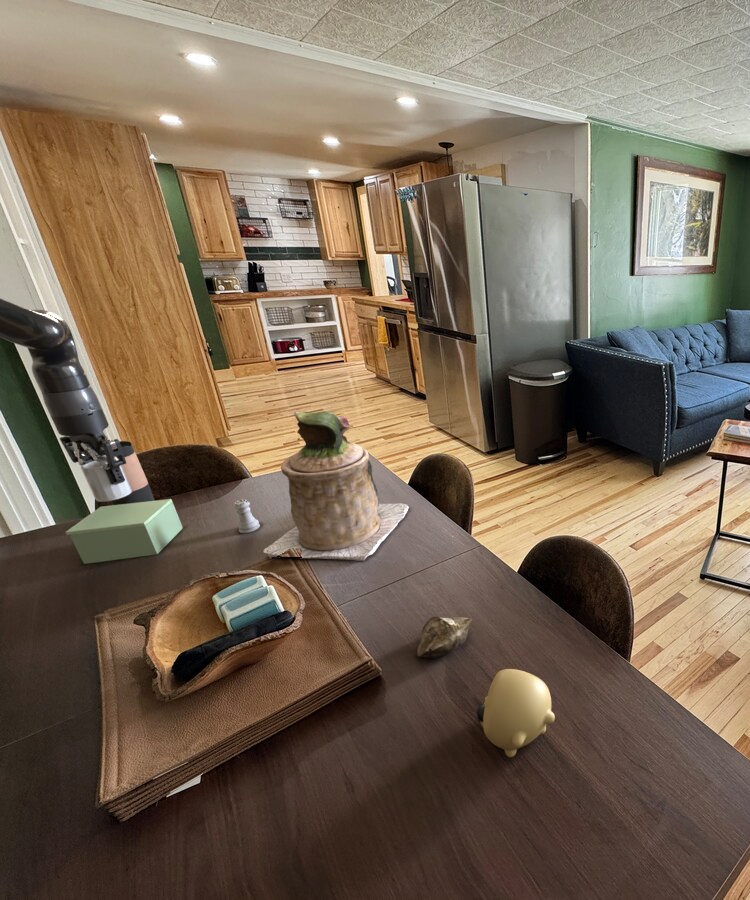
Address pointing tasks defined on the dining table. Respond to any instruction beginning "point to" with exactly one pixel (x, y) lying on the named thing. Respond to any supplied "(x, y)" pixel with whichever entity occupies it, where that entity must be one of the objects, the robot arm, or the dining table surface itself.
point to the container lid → (119, 517)
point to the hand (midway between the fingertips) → (107, 481)
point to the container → (129, 539)
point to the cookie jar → (333, 495)
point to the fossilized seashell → (442, 636)
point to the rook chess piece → (246, 517)
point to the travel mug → (133, 478)
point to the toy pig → (515, 710)
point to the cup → (104, 482)
